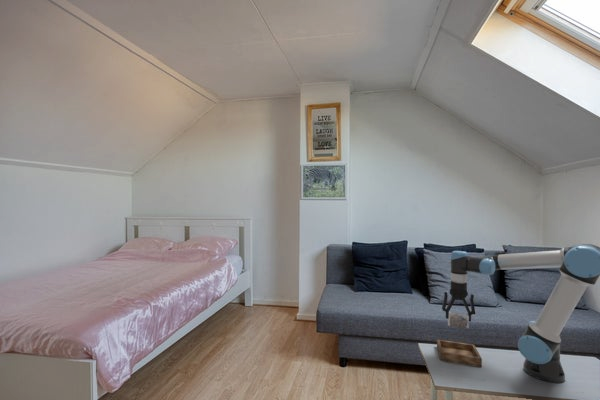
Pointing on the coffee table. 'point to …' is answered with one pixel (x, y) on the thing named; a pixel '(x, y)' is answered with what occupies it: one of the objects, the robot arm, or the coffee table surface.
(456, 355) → the tray
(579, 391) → the coffee table surface
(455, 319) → the stone
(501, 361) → the coffee table surface
